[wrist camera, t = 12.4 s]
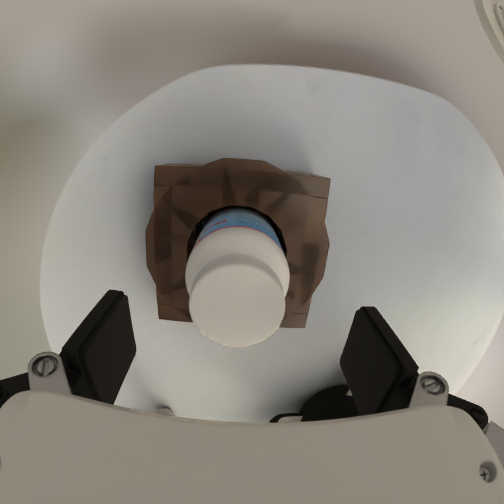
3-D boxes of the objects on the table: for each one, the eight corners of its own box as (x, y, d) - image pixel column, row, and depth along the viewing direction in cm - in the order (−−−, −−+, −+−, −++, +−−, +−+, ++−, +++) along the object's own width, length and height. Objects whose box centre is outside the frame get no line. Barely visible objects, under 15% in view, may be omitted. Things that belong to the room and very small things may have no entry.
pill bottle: (214, 193, 22) (189, 229, 11) (284, 216, 23) (322, 271, 12) (193, 259, 24) (162, 339, 13) (259, 280, 25) (273, 368, 14)
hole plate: (162, 155, 20) (146, 156, 17) (323, 168, 21) (340, 170, 18) (163, 301, 25) (151, 324, 21) (301, 310, 26) (310, 334, 22)
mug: (297, 445, 35) (308, 507, 24) (250, 396, 30) (255, 482, 19) (393, 404, 33) (421, 462, 22) (376, 341, 28) (423, 417, 17)
